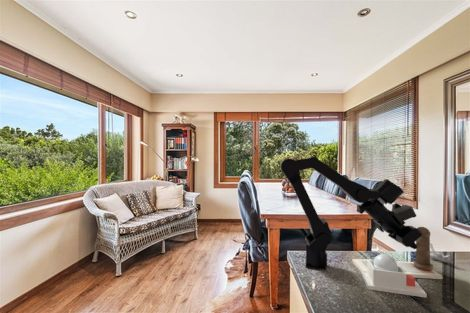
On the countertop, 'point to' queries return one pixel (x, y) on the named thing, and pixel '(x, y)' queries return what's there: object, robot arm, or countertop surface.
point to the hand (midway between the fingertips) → (415, 247)
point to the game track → (407, 268)
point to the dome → (385, 263)
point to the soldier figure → (439, 256)
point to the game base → (391, 281)
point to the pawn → (423, 250)
